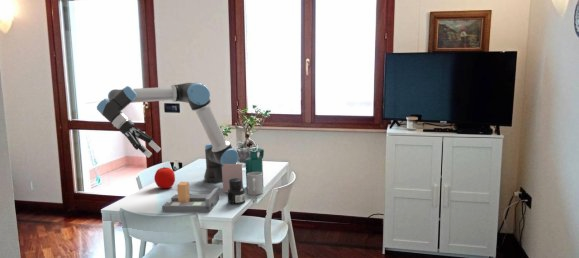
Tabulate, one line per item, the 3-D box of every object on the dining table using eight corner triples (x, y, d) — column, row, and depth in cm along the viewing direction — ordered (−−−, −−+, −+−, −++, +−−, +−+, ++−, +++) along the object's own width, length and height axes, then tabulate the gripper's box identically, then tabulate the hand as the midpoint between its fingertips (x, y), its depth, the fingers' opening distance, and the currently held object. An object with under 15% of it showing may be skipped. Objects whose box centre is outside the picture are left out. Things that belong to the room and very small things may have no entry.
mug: (248, 190, 260) (247, 171, 258) (263, 190, 260) (262, 171, 258) (246, 197, 248) (245, 177, 247) (261, 196, 248) (260, 176, 246)
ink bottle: (239, 205, 233) (238, 182, 232) (224, 204, 237) (223, 181, 235) (248, 200, 242) (247, 178, 240) (233, 198, 246) (232, 177, 244)
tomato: (167, 184, 279) (165, 164, 277) (180, 186, 273) (178, 166, 271) (150, 189, 269) (148, 168, 267) (163, 192, 263) (161, 170, 261)
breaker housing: (162, 212, 227) (161, 199, 226) (175, 199, 247) (174, 188, 246) (209, 212, 225) (209, 199, 224) (219, 199, 245) (218, 187, 244)
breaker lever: (178, 204, 233) (177, 184, 232) (182, 200, 239) (180, 181, 238) (186, 204, 233) (184, 184, 232) (189, 200, 239) (188, 181, 237)
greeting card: (243, 189, 263) (242, 163, 260) (238, 193, 256) (237, 166, 253) (225, 188, 266) (223, 163, 264) (219, 192, 259) (218, 166, 257)
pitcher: (251, 189, 262) (249, 151, 258) (245, 186, 269) (243, 149, 266) (266, 187, 266) (265, 149, 263) (260, 183, 274) (259, 147, 270)
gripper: (128, 126, 245) (158, 153, 246) (108, 133, 220) (141, 163, 221) (137, 116, 244) (167, 143, 245) (118, 122, 219) (151, 152, 220)
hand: (155, 153), depth 233 cm, fingers open, 13 cm apart
